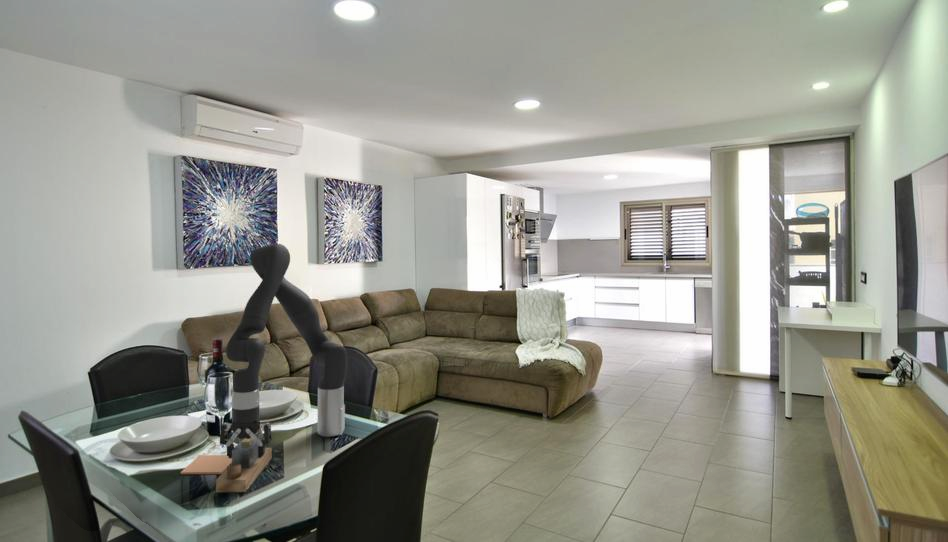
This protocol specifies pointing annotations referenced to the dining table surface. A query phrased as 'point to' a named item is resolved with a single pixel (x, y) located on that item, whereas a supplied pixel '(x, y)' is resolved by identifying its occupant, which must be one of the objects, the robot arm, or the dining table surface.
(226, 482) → the plane body
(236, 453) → the grey block
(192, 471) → the mat
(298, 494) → the dining table surface
